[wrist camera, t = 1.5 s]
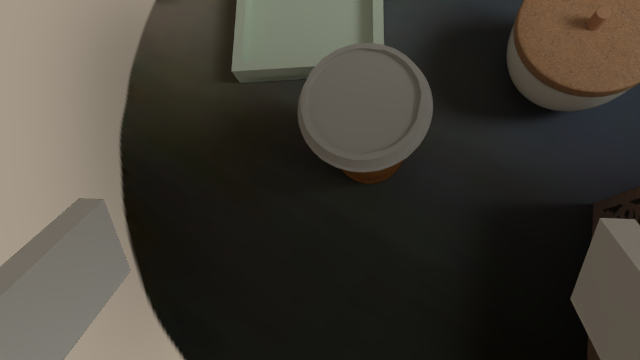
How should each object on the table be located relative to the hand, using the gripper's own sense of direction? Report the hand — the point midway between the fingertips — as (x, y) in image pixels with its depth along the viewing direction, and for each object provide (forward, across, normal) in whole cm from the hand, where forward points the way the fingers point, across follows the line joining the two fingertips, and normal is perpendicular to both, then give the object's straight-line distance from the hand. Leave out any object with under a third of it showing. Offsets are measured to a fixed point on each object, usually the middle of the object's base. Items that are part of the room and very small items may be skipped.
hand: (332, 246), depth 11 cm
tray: (+37, -6, 0) cm, 38 cm away
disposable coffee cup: (+27, 0, -11) cm, 29 cm away
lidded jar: (+32, +17, -5) cm, 36 cm away
